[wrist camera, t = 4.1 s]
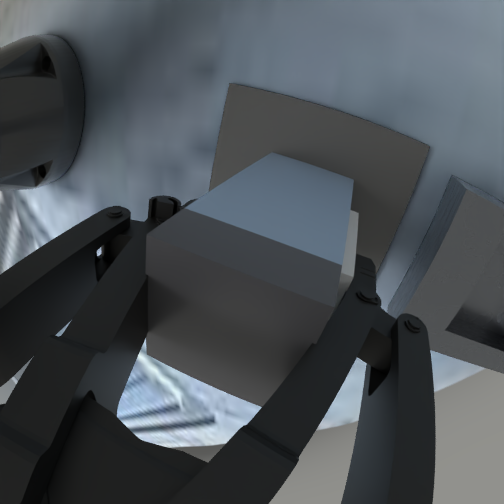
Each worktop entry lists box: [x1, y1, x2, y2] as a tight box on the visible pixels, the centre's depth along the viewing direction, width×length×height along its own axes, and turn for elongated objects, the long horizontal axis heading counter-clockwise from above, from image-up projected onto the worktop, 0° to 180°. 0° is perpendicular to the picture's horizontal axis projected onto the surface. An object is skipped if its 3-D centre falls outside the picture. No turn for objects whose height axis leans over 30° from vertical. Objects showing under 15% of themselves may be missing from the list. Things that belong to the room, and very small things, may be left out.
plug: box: [145, 152, 354, 407], centre depth 14 cm, size 5×5×12 cm
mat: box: [209, 83, 430, 274], centre depth 19 cm, size 12×12×1 cm
